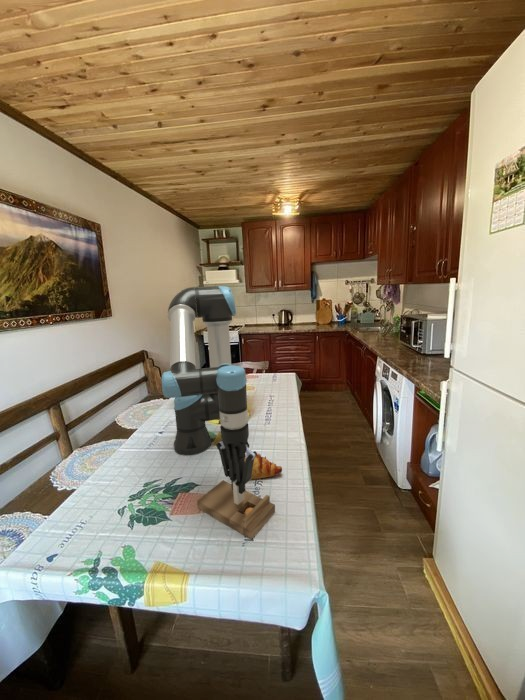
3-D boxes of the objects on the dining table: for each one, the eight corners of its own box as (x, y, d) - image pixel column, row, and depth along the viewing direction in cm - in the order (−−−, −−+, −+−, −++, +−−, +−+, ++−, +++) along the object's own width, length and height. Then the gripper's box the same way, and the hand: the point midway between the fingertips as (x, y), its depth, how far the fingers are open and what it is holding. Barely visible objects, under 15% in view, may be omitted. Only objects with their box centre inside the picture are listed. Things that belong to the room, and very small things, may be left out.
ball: (241, 510, 78) (250, 514, 76) (248, 503, 81) (257, 507, 79) (242, 521, 78) (252, 525, 77) (249, 513, 81) (258, 517, 79)
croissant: (222, 481, 101) (216, 470, 96) (230, 455, 108) (225, 443, 103) (281, 488, 95) (278, 476, 90) (285, 460, 103) (282, 448, 98)
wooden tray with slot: (197, 508, 84) (196, 494, 83) (223, 487, 93) (222, 474, 92) (251, 539, 72) (250, 524, 71) (275, 512, 81) (274, 498, 80)
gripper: (206, 423, 77) (213, 500, 81) (244, 435, 69) (249, 519, 74) (225, 413, 83) (230, 485, 87) (262, 423, 75) (265, 501, 80)
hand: (239, 500), depth 81 cm, fingers closed
